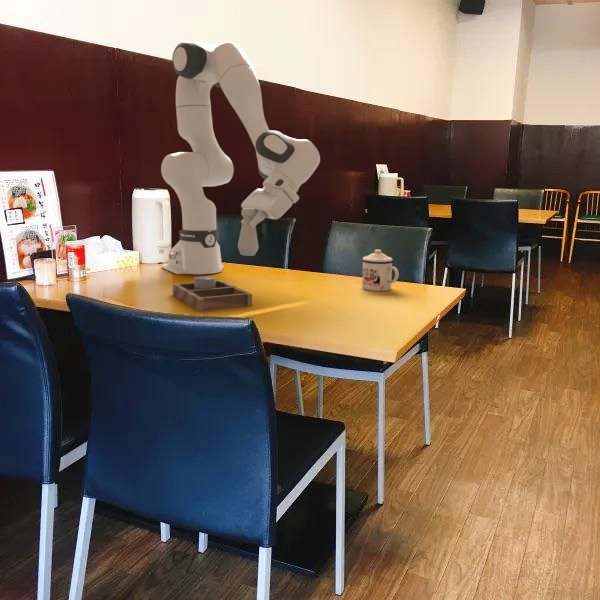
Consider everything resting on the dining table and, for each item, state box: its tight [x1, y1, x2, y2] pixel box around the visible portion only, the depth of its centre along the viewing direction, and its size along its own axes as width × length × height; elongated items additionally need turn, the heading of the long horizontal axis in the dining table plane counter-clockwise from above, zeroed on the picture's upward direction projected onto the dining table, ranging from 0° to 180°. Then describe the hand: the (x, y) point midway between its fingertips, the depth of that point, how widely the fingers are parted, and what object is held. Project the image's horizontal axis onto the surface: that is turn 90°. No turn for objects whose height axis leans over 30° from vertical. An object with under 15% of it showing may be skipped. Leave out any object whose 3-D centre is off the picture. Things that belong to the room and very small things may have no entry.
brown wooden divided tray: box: [172, 279, 253, 312], centre depth 162 cm, size 21×14×4 cm
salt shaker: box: [237, 208, 260, 257], centre depth 173 cm, size 6×6×13 cm
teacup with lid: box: [361, 249, 400, 292], centre depth 183 cm, size 12×9×12 cm
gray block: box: [193, 275, 216, 290], centre depth 166 cm, size 6×6×5 cm
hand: (246, 225), depth 172 cm, fingers closed on salt shaker, 3 cm apart
